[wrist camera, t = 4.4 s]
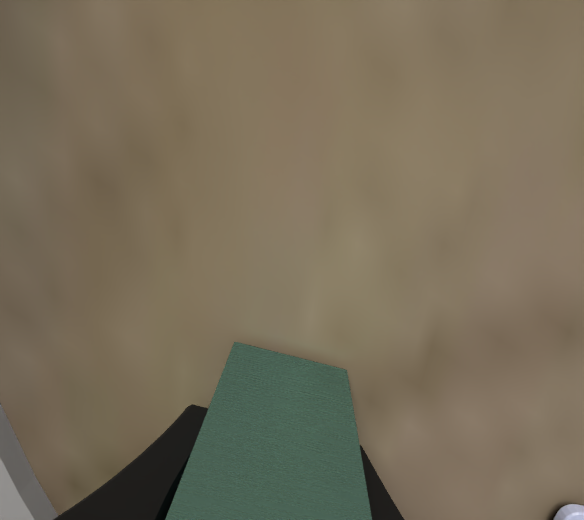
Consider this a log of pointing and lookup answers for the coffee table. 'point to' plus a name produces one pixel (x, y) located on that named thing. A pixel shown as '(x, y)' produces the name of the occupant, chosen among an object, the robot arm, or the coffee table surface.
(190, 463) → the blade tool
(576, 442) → the coffee table surface
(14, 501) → the kitchen cleaver
